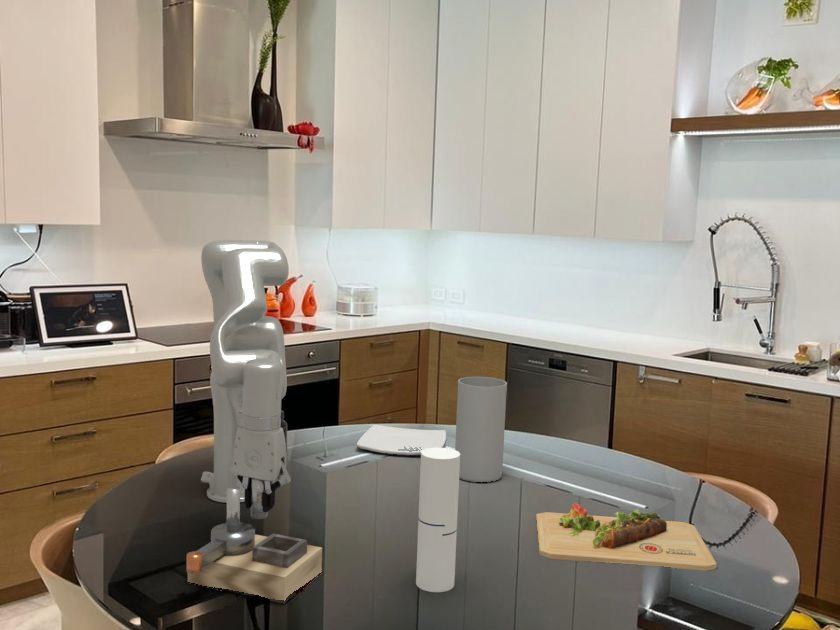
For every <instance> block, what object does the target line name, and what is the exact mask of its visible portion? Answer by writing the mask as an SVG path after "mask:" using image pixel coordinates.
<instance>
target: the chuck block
mask: <svg viewBox="0 0 840 630" xmlns="http://www.w3.org/2000/svg"><path fill="white" fill-rule="evenodd" d="M322 564H323V547H321V546H315V545H311V544H308V539H304V538H303V539H302V538H297V537H294V536H287V535H282V534H278V533H272V534H270V535H269V536H265V535H260V534H256V533H255V546H254V547H253V548H252V550H250V551H248V552H245V553H241V554H232V555H228V554H223V555H222V556H220V557H219V558H217V559H215V560H214V561H212V562H211V563H209V564H208V565H206V566H205V567H203V568H202V572H200V573H198V574H189V573H187V583H188V582H190V583H189V584H191V583H195V584H194V585H196V584H198V585H197V586H200V585H202V586H201V587H204V586H207V587H206V588H209V587H213V588H214V587H215V588H222V589H229V590H233V591H239V592H244V593H248V594H254V595H259V596H261V597H265V598H268V599H275V600H284V601H285V600H286V598H287V597H288V596H289V595H290V594H292V593H293V592H294V591H296V590H298V589H299V588H300V587H302V586H304V585H305V584H306V583H308V582H309V581H310V580H312V579H313V578H314V577H316V576H317V575H318V574H319V573H321V572H322V570H323V567H322V566H323V565H322ZM322 573H323V572H322ZM322 573H321V574H322ZM317 577H318V576H317ZM317 577H316V578H317ZM213 588H212V589H213Z"/></svg>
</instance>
